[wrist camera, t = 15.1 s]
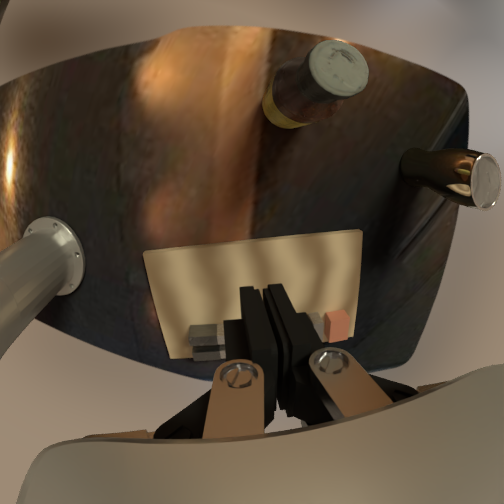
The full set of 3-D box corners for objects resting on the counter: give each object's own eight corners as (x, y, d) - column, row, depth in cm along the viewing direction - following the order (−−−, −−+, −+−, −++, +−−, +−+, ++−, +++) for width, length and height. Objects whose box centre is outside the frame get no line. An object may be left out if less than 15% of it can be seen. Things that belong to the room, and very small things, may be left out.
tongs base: (317, 311, 41) (325, 324, 38) (316, 335, 43) (323, 349, 39) (190, 326, 40) (187, 341, 37) (195, 349, 42) (194, 365, 38)
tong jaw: (292, 317, 41) (296, 329, 38) (291, 326, 41) (296, 338, 39) (190, 325, 40) (188, 337, 37) (191, 333, 40) (189, 346, 38)
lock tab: (344, 309, 41) (350, 318, 39) (341, 330, 43) (347, 339, 40) (325, 312, 41) (331, 321, 39) (324, 333, 43) (329, 342, 40)
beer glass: (399, 140, 34) (472, 144, 20) (432, 149, 35) (504, 158, 21) (395, 187, 37) (466, 209, 23) (428, 192, 37) (498, 215, 23)
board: (171, 354, 43) (170, 358, 42) (145, 250, 37) (142, 254, 36) (350, 332, 45) (353, 336, 44) (359, 229, 38) (362, 231, 37)
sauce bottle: (294, 77, 31) (362, 14, 12) (317, 118, 33) (405, 94, 14) (249, 96, 31) (275, 36, 13) (272, 139, 33) (326, 125, 15)
